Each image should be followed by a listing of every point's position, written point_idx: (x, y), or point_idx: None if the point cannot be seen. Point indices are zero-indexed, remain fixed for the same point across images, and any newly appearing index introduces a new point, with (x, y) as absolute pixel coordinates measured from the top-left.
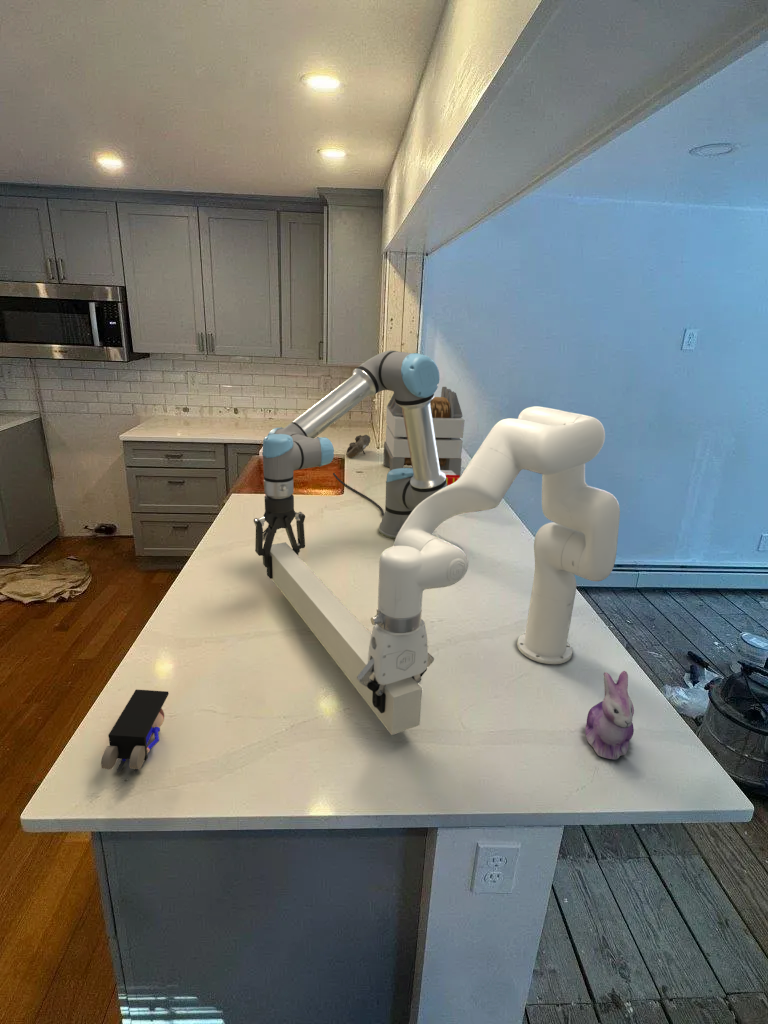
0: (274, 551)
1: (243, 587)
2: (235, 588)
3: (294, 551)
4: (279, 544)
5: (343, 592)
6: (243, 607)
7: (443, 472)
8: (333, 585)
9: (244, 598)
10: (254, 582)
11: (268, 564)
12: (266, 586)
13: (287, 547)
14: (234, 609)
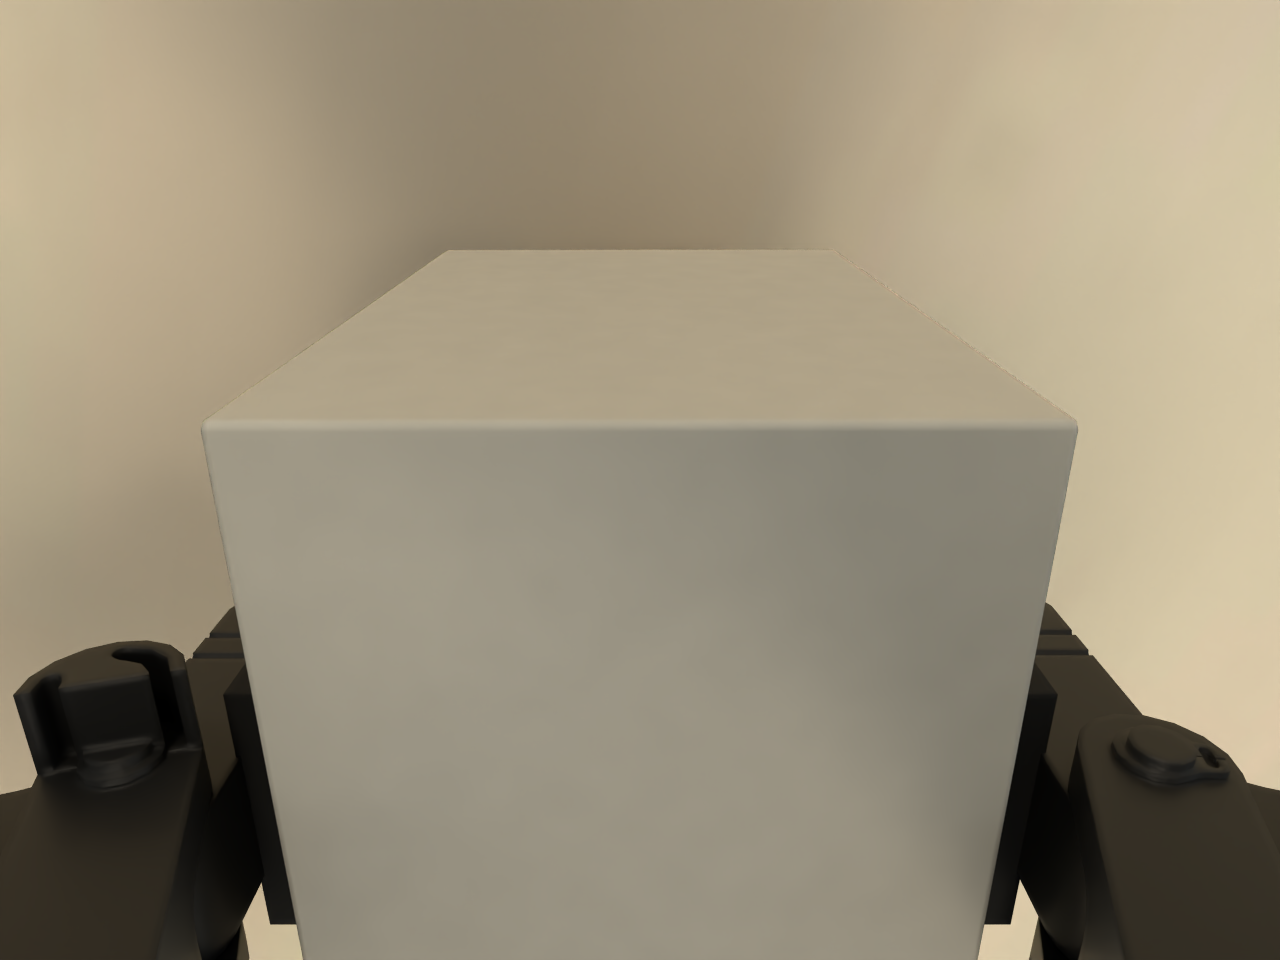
0: (413, 957)
1: (147, 126)
2: (25, 109)
3: (1022, 879)
4: (758, 536)
5: (1256, 742)
6: (110, 636)
7: None
8: (1276, 560)
9: (137, 446)
10: (332, 23)
11: None
12: (477, 237)
13: (903, 852)
14: (7, 639)
